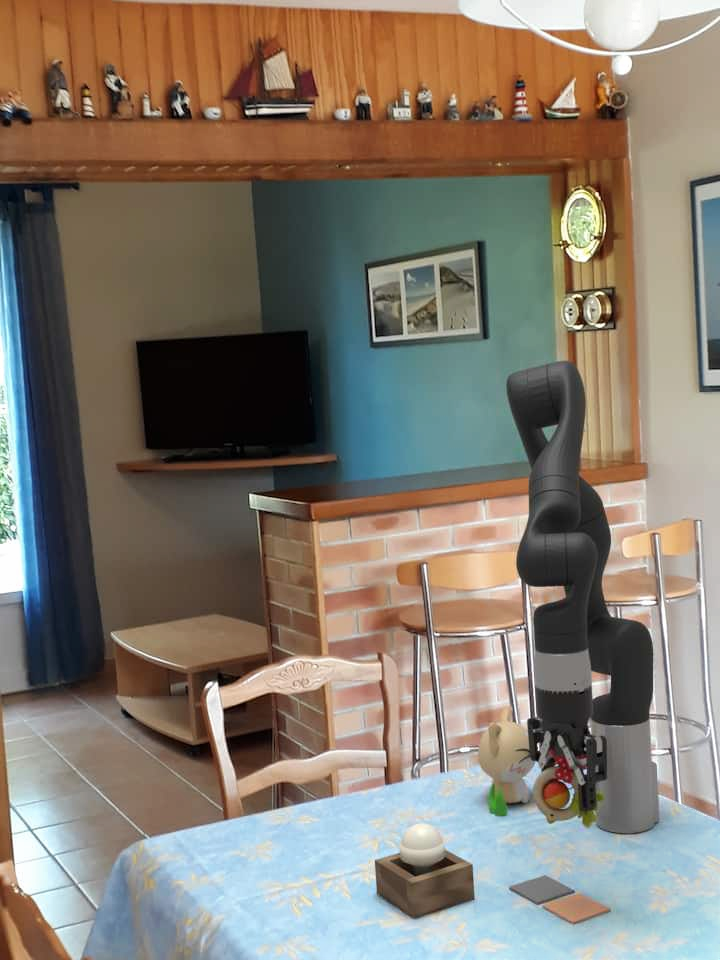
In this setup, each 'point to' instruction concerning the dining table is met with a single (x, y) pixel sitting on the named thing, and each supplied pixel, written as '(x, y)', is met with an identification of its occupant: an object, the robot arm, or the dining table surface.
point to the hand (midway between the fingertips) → (569, 802)
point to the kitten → (505, 762)
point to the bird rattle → (561, 793)
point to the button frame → (424, 884)
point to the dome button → (422, 848)
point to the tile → (576, 908)
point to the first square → (541, 889)
